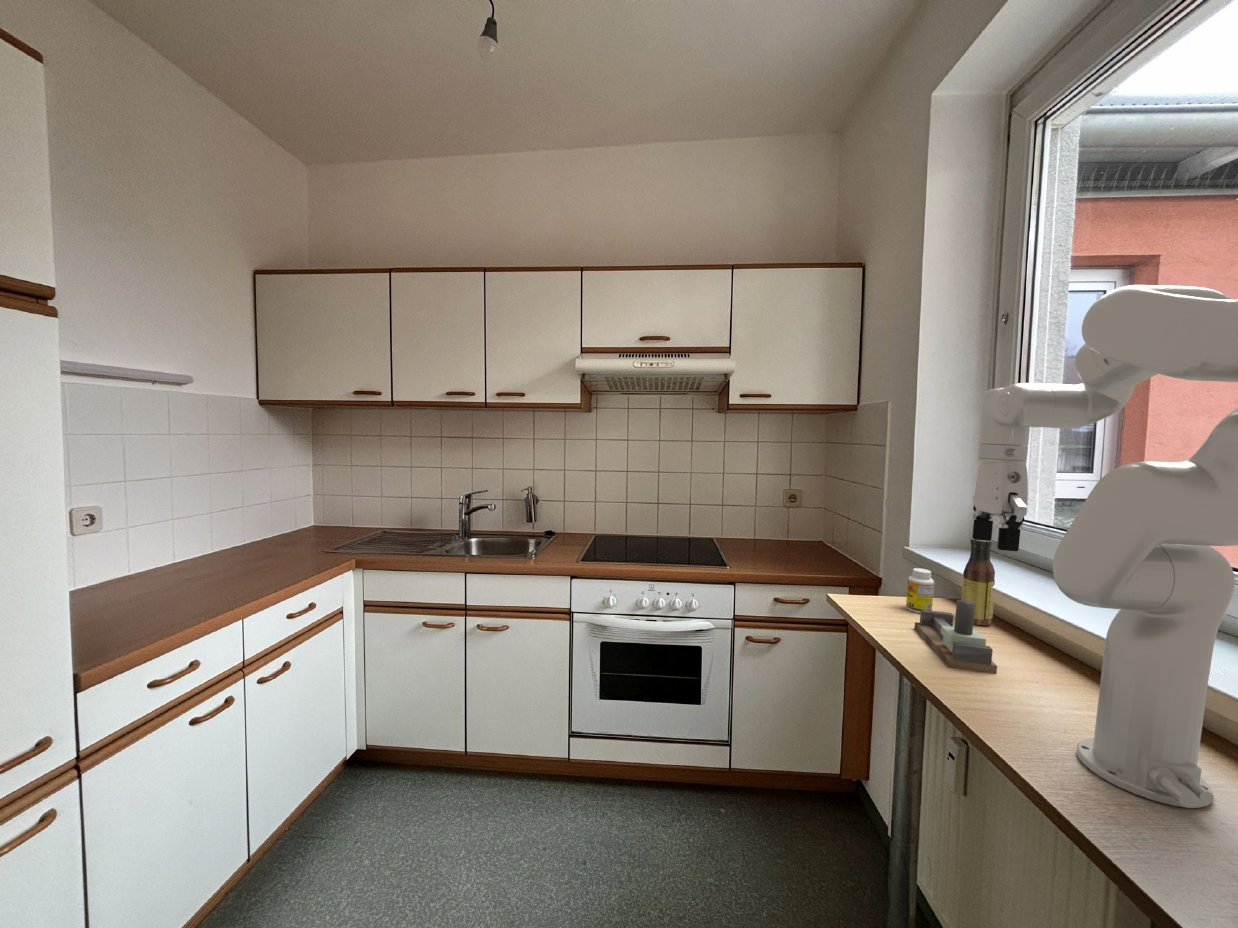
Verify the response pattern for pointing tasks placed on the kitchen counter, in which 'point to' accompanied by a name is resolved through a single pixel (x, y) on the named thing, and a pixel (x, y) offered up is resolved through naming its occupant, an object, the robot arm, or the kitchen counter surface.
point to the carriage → (962, 627)
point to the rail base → (962, 653)
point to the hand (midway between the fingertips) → (994, 544)
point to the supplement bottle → (920, 591)
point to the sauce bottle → (979, 581)
